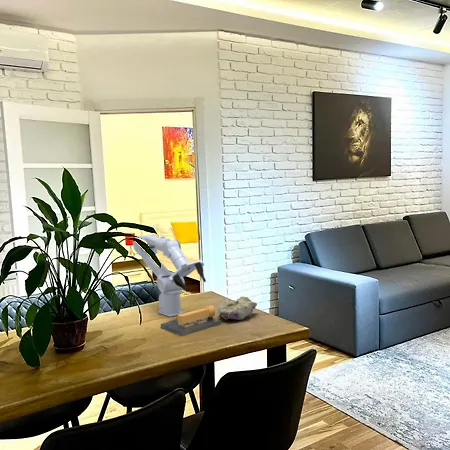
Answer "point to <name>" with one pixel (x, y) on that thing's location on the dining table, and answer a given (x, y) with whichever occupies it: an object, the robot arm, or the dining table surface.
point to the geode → (237, 308)
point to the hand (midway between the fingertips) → (196, 285)
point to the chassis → (190, 325)
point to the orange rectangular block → (196, 314)
